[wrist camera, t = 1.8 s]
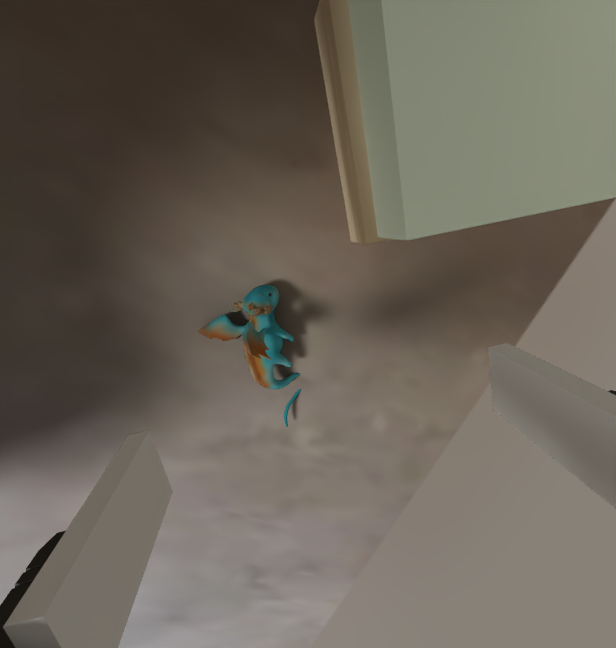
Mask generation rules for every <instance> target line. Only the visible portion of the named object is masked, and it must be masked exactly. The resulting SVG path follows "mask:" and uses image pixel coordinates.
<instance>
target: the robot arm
mask: <svg viewBox="0 0 616 648" xmlns="http://www.w3.org/2000/svg"><path fill="white" fill-rule="evenodd" d="M488 349H489V362H490V376H491V389H492V402H493V410H494V411H495V412H496V413H497V414H499V415H500V416H501V417H502V418H504V419H505V420H506V421H507V422H508V423H510V424H511V425H512V426H513V427H515V428H516V429H518V431H520V432H521V433H522V434H523V435H525V436H526V437H527V438H528V439H530V440H531V441H532V442H533V443H535V444H536V445H537V446H538V447H539V448H541V449H542V450H543V451H544V452H546V453H547V454H548V455H549V456H551V457H552V458H553V459H554V460H556V461H557V462H558V463H559V464H561V465H562V466H563V467H564V468H565V469H567V470H568V471H569V472H571V473H572V474H573V475H574V476H575V477H577V478H578V479H579V480H580V481H582V482H583V483H584V484H585V485H587V486H588V487H589V488H591V490H593V491H594V492H595V493H597V494H598V495H599V496H600V497H601V498H603V499H604V500H605V501H606V502H608V503H609V504H610V505H611V506H613V507H614V508H615V509H616V391H612V390H611V391H606V390H604V389H602V388H600V387H597V386H595V385H593V384H591V383H589V382H587V381H585V380H583V379H581V378H579V377H577V376H575V375H573V374H571V373H568V372H566V371H564V370H562V369H560V368H558V367H556V366H554V365H552V364H550V363H548V362H546V361H543V360H541V359H539V358H537V357H535V356H533V355H531V354H529V353H527V352H525V351H523V350H521V349H519V348H517V347H515V346H513V345H510V344H508V343H505V344H501V345H497V346H492V347H488ZM171 494H172V488H171V486H170V483H169V481H168V478H167V475H166V473H165V470H164V467H163V465H162V462H161V459H160V457H159V454H158V451H157V449H156V446H155V443H154V441H153V438H152V436H151V433H150V430H148V431H144V432H140V433H135V434H131V435H128V437H127V438H126V440H125V441H124V443H123V444H122V446H121V448H120V449H119V451H118V452H117V454H116V455H115V457H114V458H113V460H112V461H111V463H110V464H109V466H108V467H107V469H106V470H105V472H104V473H103V475H102V477H101V478H100V480H99V481H98V483H97V484H96V486H95V487H94V489H93V490H92V492H91V493H90V495H89V496H88V498H87V499H86V501H85V502H84V504H83V506H82V507H81V509H80V510H79V512H78V513H77V515H76V516H75V518H74V519H73V521H72V522H71V524H70V525H69V527H68V528H67V530H66V531H63V532H59V533H57V534H56V535H55V536H54V537H52V538H51V539H50V540H49V541H48V542H47V543H46V544H45V545H44V546H43V547H42V548H41V549H40V550H39V551H38V552H37V554H36V555H35V557H34V558H33V560H32V561H31V562H30V564H29V565H28V567H27V568H26V572H25V573H23V574H22V575H21V577H20V578H19V580H18V581H17V583H16V584H15V588H13V589H12V590H11V591H10V593H9V594H8V595H7V597H6V598H5V600H4V601H3V603H2V604H1V605H0V648H118V646H119V643H120V640H121V637H122V634H123V631H124V628H125V626H126V623H127V620H128V617H129V614H130V611H131V608H132V606H133V603H134V600H135V597H136V594H137V591H138V588H139V586H140V583H141V580H142V577H143V574H144V571H145V568H146V566H147V563H148V560H149V557H150V554H151V551H152V548H153V546H154V543H155V540H156V537H157V534H158V531H159V528H160V526H161V523H162V520H163V517H164V514H165V511H166V508H167V506H168V503H169V500H170V497H171Z"/></svg>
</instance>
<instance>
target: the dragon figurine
mask: <svg viewBox="0 0 616 648" xmlns="http://www.w3.org/2000/svg"><path fill="white" fill-rule="evenodd" d="M279 298H280V296H279V292H278V289H277V288H276V287H274V286H270V285H262V286H259V287H256V288H254V289H253V290H251V291H250V292H249V293H248V294H247V295H246V297H245V298H244V300H243V301H242V302H238V303H234V306H233V307H234V309H232V310H230V311H232V312H238V311H241V310H245V311H246V312H247V313H248V314H249V315H250V319H249V322H248V323H247V324H246V325H245V326H239V325H235V324H233V323H232V322H231V321H230V319H229V318H228V316H227V315H222V316H220V317H218V318H216V319H215V320H213V321H212V322H210V323H209V324H208V325H206V326H205V327H203V328H202V329H201V330H199V333H201V334H202V335H204V336H206V337H208V338H209V339H211V338H213V337H216V338H219V339H221V340H223V341H226V340H229V339H238V336H240V335H242V334H243V333H244V334H243V341H244V351H245V358H246V359H247V362H248V364H249V368H250V371H251V373H252V375H253V377H254V380H255V381H256V382H258V383H259V384H260V385H262V386H264V387H265V388H270V389H280V388H283V387H285V386H287V385H288V384H289V383H290V382H291V381H292V380H293V379H295V378H296V377H297V376H300V374H299V373H294V374H292V375H290V376H288V377H287V378H285V379H283V380H276V379H275V378H274V376H273V367H274V364H283V365H285V366H287V367H291V365H293V364H292V363H291V362H290V361H288V360H287V358H285V357H284V356H283V355H281V354H280V351H281V349H282V346H283V338H285V339H288V340H289V341H292V342H293V340H294V338H293V336H292V335H290V334H289V333H287V332H286V331H284V330H283V329H281V328H280V326H279V325H278V324H277V323H276V321H275V319H274V308H275V307H276V306H277V304H278V302H279ZM300 391H301V389H299V390H297V392H296V393H295V395H294V396H293V397H292V399H291V400H290V401H289V403H288V404H287V406H286V409H285V412H284V421H285V424H286V426H287V427H288V424H287V414H288V410H289V407H290V405H291V404H292V402H293V401H294V400H295V398H296V397H297V395H298V394H299V392H300Z"/></svg>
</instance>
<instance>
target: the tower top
mask: <svg viewBox="0 0 616 648" xmlns="http://www.w3.org/2000/svg"><path fill="white" fill-rule="evenodd" d="M348 6H349V14H350V22H351V30H352V38H353V46H354V53H355V61H356V69H357V77H358V85H359V93H360V100H361V108H362V116H363V124H364V132H365V140H366V147H367V155H368V163H369V171H370V179H371V187H372V194H373V202H374V210H375V218H376V226H377V234H378V237H381V238H390V239H398V240H411V239H416V238H421V237H426V236H431V235H436V234H441V233H446V232H450V231H455V230H460V229H465V228H470V227H475V226H480V225H484V224H489V223H494V222H499V221H504V220H509V219H514V218H518V217H523V216H528V215H533V214H538V213H543V212H548V211H553V210H557V209H562V208H567V207H572V206H577V205H582V204H587V203H591V202H596V201H601V200H606V199H611V198H616V0H348Z"/></svg>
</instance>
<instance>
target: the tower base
mask: <svg viewBox="0 0 616 648" xmlns="http://www.w3.org/2000/svg"><path fill="white" fill-rule="evenodd" d="M314 22H315V28H316V34H317V40H318V46H319V52H320V58H321V64H322V70H323V76H324V82H325V88H326V94H327V100H328V106H329V112H330V118H331V124H332V130H333V136H334V142H335V148H336V154H337V160H338V166H339V172H340V178H341V184H342V190H343V196H344V202H345V208H346V214H347V220H348V226H349V232H350V238H351V242H356V243H361V244H366V245H367V244H372V243H376V242H381V241H385V240H390V238H381V237H378V234H377V226H376V218H375V210H374V202H373V194H372V187H371V179H370V171H369V163H368V155H367V147H366V140H365V132H364V124H363V116H362V108H361V100H360V93H359V85H358V77H357V69H356V61H355V53H354V46H353V38H352V30H351V22H350V14H349V6H348V0H319V4H318V7H317V11H316V14H315V18H314Z"/></svg>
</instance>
